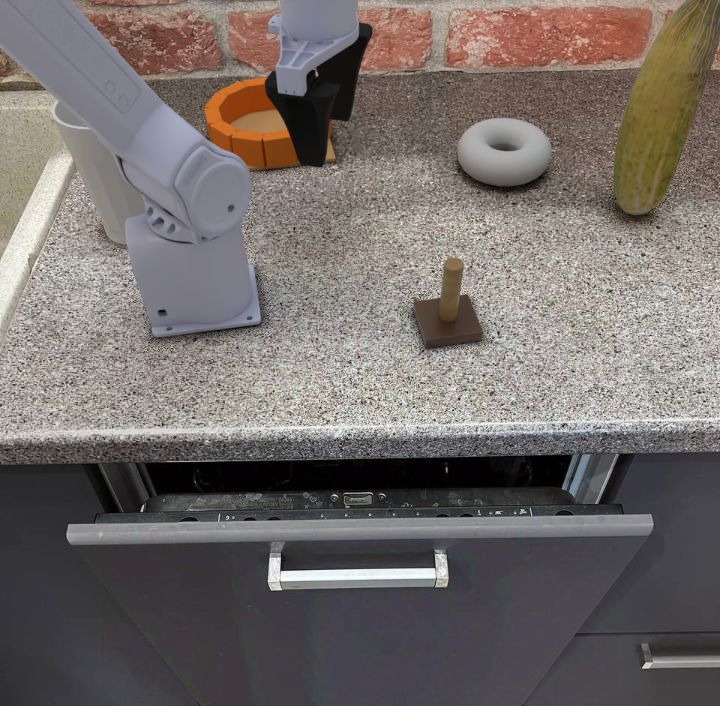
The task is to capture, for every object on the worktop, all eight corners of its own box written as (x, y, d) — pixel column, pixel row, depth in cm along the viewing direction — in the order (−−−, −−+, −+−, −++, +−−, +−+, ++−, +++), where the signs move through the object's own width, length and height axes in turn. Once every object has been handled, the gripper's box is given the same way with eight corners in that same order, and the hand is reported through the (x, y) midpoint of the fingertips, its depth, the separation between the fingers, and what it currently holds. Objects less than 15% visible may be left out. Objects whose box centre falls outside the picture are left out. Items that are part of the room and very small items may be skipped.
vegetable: (613, 233, 68) (690, 0, 51) (584, 197, 71) (647, -31, 55) (668, 221, 69) (761, -10, 52) (636, 187, 72) (714, -41, 56)
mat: (217, 174, 74) (216, 171, 74) (210, 114, 82) (210, 110, 81) (335, 161, 76) (335, 158, 75) (318, 102, 83) (318, 99, 82)
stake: (425, 348, 59) (431, 287, 54) (412, 309, 62) (416, 248, 56) (482, 340, 59) (493, 279, 54) (466, 302, 62) (475, 240, 57)
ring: (342, 155, 75) (342, 128, 73) (219, 175, 74) (214, 148, 71) (315, 96, 83) (313, 69, 80) (202, 112, 81) (197, 86, 79)
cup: (80, 236, 68) (31, 115, 59) (130, 194, 72) (93, 74, 63) (144, 259, 66) (104, 137, 56) (192, 215, 70) (163, 93, 60)
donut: (450, 189, 73) (546, 197, 71) (452, 157, 70) (553, 165, 68) (461, 139, 78) (550, 145, 77) (464, 108, 75) (557, 114, 74)
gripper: (296, -84, 54) (308, 94, 65) (225, -10, 46) (253, 179, 57) (382, -76, 53) (380, 104, 64) (325, 1, 45) (334, 191, 56)
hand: (325, 140), depth 61 cm, fingers open, 7 cm apart
